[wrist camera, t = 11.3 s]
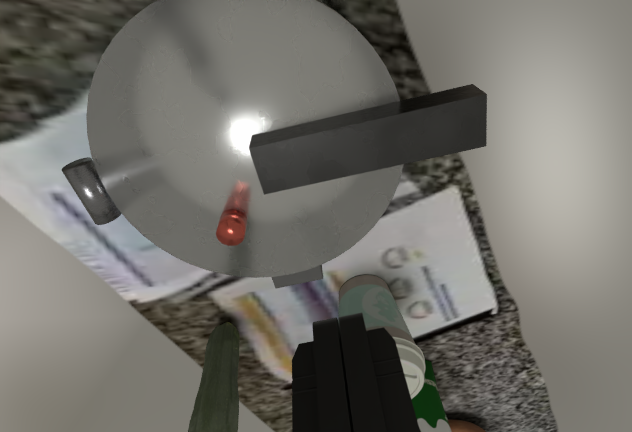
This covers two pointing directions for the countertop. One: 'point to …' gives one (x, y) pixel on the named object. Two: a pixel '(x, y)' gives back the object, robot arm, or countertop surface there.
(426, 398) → the milk carton
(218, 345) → the vegetable
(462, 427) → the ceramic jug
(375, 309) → the coffee cup
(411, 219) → the countertop surface
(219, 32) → the cooker lid
